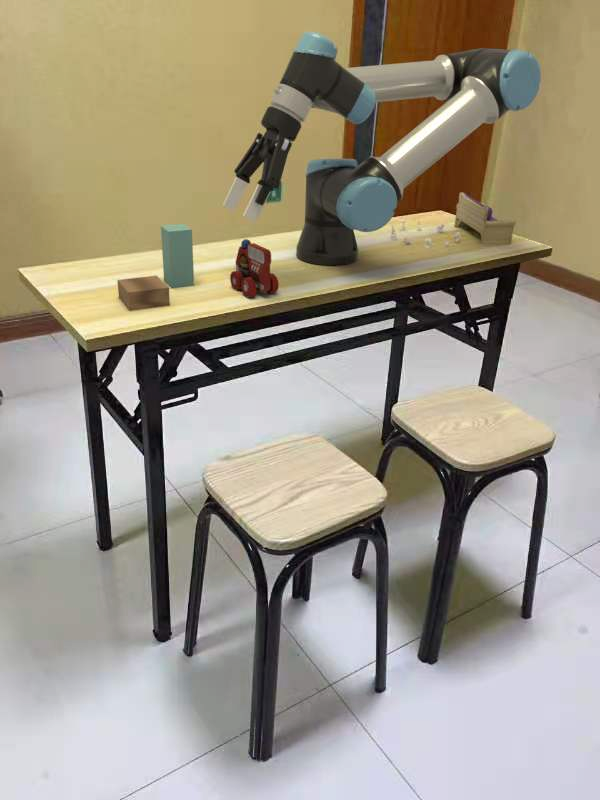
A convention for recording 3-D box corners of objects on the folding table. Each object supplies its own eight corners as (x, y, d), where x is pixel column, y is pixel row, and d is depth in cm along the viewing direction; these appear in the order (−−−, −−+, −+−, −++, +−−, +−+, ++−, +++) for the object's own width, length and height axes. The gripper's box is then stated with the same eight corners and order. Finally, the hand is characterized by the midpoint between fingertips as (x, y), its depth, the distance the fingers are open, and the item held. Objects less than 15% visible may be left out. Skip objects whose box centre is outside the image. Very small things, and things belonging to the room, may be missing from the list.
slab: (157, 294, 142) (156, 275, 140) (169, 306, 135) (168, 287, 134) (119, 299, 138) (117, 279, 136) (129, 312, 132) (128, 292, 130)
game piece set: (424, 227, 200) (426, 214, 198) (475, 244, 186) (477, 230, 184) (372, 235, 190) (374, 221, 189) (421, 253, 176) (423, 238, 174)
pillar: (186, 278, 150) (183, 223, 144) (194, 285, 146) (191, 229, 141) (164, 281, 148) (160, 225, 142) (171, 288, 144) (168, 231, 138)
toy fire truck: (253, 280, 151) (253, 233, 146) (282, 297, 142) (283, 247, 137) (225, 284, 148) (224, 236, 143) (253, 302, 139) (253, 252, 134)
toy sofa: (512, 245, 185) (519, 207, 180) (482, 246, 183) (489, 207, 179) (480, 226, 203) (485, 190, 198) (452, 226, 202) (457, 191, 197)
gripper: (249, 103, 143) (205, 196, 147) (294, 105, 123) (242, 215, 127) (278, 121, 147) (235, 212, 151) (327, 127, 126) (275, 232, 130)
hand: (238, 213), depth 139 cm, fingers open, 13 cm apart
